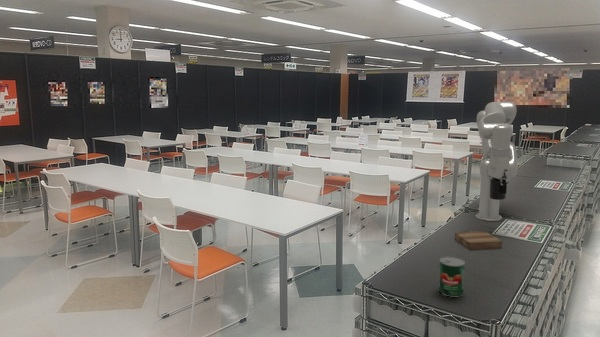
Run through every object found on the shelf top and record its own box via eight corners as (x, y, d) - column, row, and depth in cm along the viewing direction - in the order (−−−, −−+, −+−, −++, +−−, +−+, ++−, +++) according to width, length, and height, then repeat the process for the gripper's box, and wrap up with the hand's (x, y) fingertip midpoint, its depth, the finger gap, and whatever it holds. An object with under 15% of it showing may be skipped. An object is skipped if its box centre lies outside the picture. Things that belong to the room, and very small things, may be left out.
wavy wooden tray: (454, 238, 188) (455, 232, 188) (484, 237, 190) (484, 231, 189) (470, 250, 175) (470, 243, 174) (501, 248, 176) (502, 241, 175)
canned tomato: (457, 286, 142) (459, 255, 140) (467, 297, 134) (469, 265, 132) (434, 287, 142) (435, 256, 140) (443, 298, 134) (444, 266, 132)
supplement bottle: (502, 196, 194) (504, 171, 191) (508, 200, 187) (509, 174, 185) (486, 196, 194) (488, 171, 192) (492, 200, 188) (493, 174, 185)
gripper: (482, 150, 195) (480, 187, 198) (503, 156, 178) (500, 196, 181) (497, 149, 196) (494, 186, 199) (520, 155, 179) (517, 195, 182)
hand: (497, 191), depth 190 cm, fingers closed on supplement bottle, 6 cm apart
